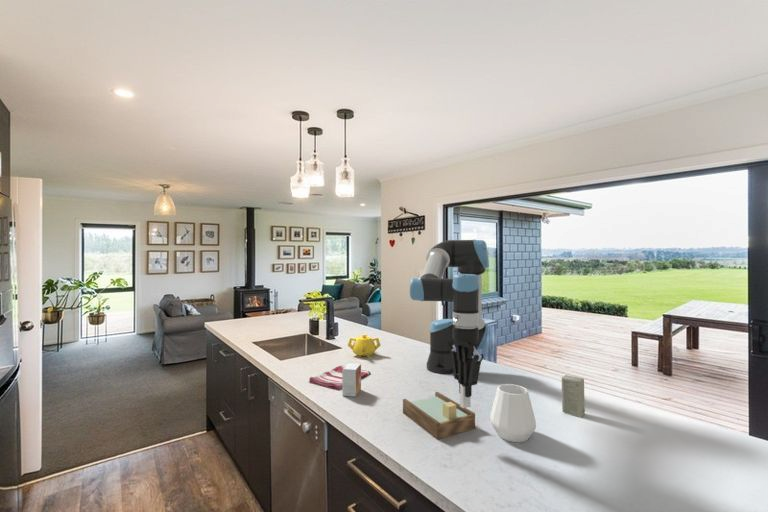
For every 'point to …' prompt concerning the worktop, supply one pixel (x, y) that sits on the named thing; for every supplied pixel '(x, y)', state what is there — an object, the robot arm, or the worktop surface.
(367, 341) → the yellow sugar bowl
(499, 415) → the white ceramic vase
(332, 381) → the dish towel
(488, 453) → the worktop surface
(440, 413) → the cover plate
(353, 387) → the small box
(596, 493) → the worktop surface
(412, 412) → the wooden tray
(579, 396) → the skincare box
